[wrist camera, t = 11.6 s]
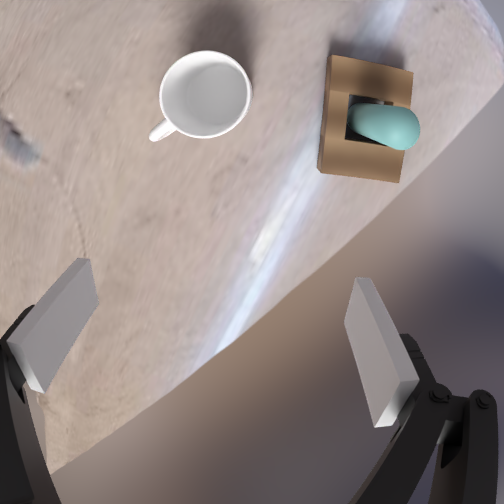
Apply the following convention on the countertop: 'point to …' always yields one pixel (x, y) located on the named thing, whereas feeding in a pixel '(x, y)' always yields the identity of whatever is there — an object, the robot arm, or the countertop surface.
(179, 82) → the cup
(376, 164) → the socket
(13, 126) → the countertop surface
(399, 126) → the peg
